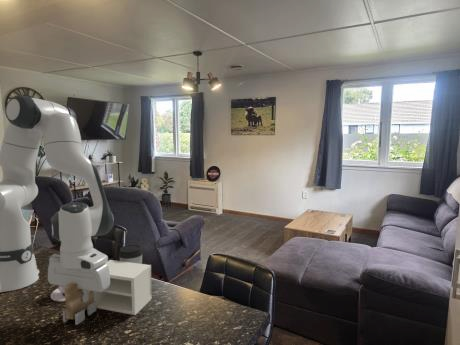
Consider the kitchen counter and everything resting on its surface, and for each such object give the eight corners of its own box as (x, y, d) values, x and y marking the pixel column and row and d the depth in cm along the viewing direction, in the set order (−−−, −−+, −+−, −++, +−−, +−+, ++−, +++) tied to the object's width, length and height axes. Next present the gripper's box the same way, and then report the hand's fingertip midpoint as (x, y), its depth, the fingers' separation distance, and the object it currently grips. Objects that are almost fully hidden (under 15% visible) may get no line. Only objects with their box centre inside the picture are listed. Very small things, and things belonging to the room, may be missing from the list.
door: (64, 317, 89) (62, 286, 88) (85, 302, 97) (83, 273, 96) (73, 319, 88) (71, 287, 87) (93, 304, 96) (91, 274, 95)
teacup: (68, 283, 113) (67, 267, 113) (96, 286, 111) (95, 270, 110) (42, 300, 102) (40, 282, 101) (72, 304, 99) (71, 286, 99)
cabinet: (63, 321, 89) (60, 283, 88) (105, 290, 108) (104, 258, 106) (116, 333, 85) (115, 292, 83) (151, 298, 103) (150, 265, 101)
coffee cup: (136, 294, 106) (135, 253, 104) (115, 291, 107) (113, 251, 106) (147, 283, 114) (146, 245, 112) (127, 280, 115) (126, 243, 114)
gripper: (40, 257, 90) (43, 300, 92) (98, 265, 85) (100, 311, 86) (57, 249, 96) (60, 290, 98) (112, 256, 91) (114, 299, 92)
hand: (79, 300), depth 92 cm, fingers closed on door, 2 cm apart
